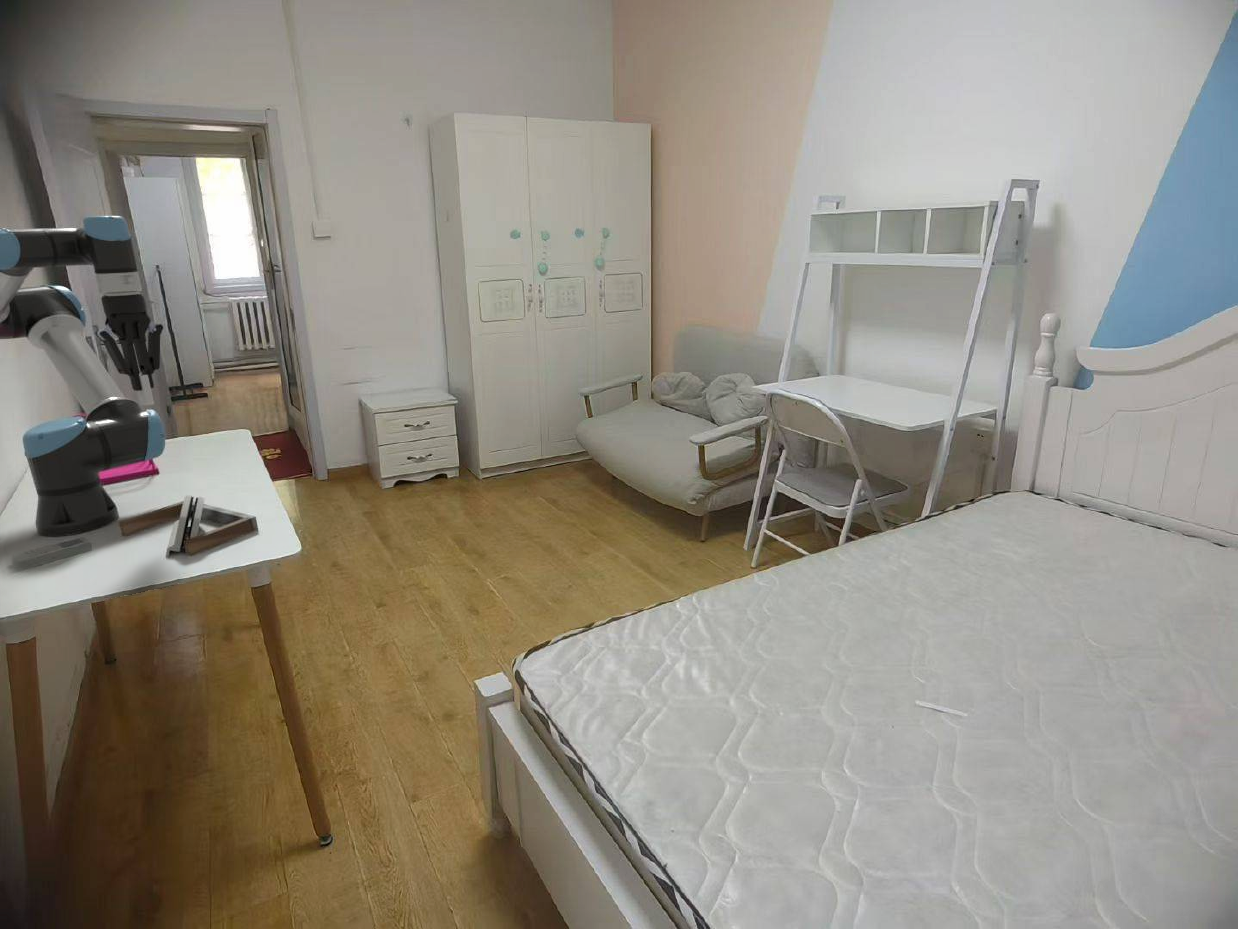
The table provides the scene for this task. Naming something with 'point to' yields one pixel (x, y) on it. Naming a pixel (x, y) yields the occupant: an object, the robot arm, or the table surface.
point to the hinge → (186, 524)
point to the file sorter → (126, 469)
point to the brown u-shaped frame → (232, 520)
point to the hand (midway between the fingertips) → (147, 404)
